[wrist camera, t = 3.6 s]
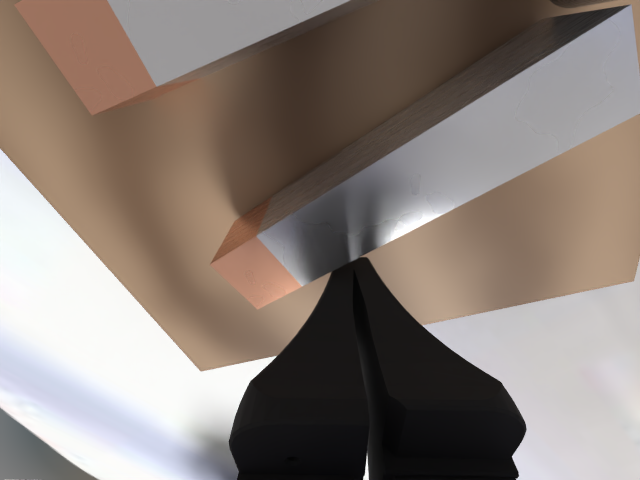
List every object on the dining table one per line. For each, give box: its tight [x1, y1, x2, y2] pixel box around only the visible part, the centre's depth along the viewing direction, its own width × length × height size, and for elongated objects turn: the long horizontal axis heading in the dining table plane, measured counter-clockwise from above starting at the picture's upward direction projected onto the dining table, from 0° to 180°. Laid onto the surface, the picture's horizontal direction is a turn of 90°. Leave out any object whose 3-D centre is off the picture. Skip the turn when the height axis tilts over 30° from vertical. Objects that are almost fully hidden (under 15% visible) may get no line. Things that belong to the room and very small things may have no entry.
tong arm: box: [210, 4, 640, 310], centre depth 10 cm, size 12×2×3 cm, turn 124°
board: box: [0, 0, 640, 371], centre depth 12 cm, size 23×20×1 cm
